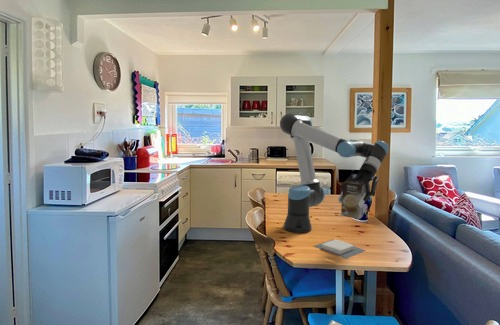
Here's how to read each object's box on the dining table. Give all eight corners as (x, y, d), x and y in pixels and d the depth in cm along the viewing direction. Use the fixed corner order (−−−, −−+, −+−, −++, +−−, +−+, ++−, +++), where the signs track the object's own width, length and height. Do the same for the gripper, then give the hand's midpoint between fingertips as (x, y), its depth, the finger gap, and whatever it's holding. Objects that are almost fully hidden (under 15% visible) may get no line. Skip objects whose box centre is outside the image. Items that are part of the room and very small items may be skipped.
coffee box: (339, 215, 157) (342, 182, 155) (344, 212, 162) (346, 180, 160) (359, 219, 152) (362, 185, 150) (363, 216, 157) (366, 182, 155)
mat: (312, 247, 157) (313, 246, 156) (333, 240, 167) (333, 239, 167) (346, 259, 143) (346, 258, 143) (366, 251, 153) (366, 250, 153)
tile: (335, 243, 161) (321, 248, 154) (335, 239, 161) (321, 244, 154) (353, 249, 154) (339, 255, 147) (354, 245, 154) (340, 250, 147)
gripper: (394, 175, 155) (374, 213, 147) (352, 170, 173) (332, 203, 165) (389, 165, 152) (368, 203, 143) (346, 160, 169) (326, 194, 161)
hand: (349, 203), depth 154 cm, fingers closed on coffee box, 10 cm apart
